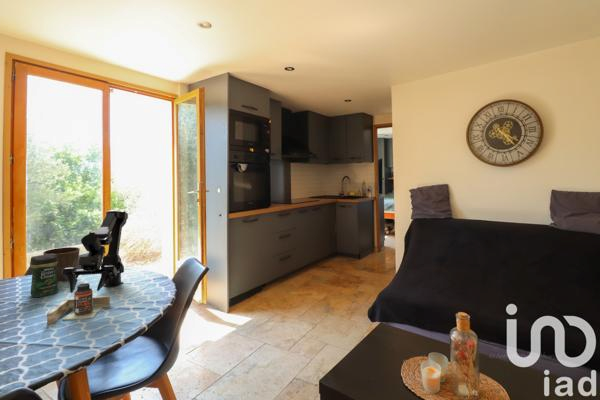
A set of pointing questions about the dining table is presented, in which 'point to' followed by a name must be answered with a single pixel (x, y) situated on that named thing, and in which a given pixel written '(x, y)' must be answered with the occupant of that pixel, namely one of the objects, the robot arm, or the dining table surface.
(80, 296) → the supplement bottle
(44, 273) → the coffee jar
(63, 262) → the plant pot
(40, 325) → the dining table surface
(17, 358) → the dining table surface
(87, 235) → the robot arm
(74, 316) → the arena
